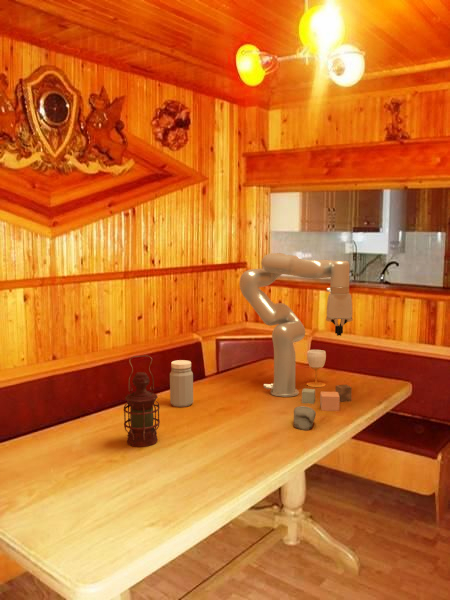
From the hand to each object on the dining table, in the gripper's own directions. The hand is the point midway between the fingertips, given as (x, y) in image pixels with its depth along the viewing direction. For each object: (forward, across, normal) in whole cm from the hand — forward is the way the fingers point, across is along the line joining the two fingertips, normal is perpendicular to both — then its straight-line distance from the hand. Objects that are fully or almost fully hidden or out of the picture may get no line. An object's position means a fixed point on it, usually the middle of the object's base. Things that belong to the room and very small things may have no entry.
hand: (338, 335), depth 232 cm
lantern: (+29, -71, -50) cm, 92 cm away
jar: (+29, -65, -6) cm, 72 cm away
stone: (+30, -15, -28) cm, 44 cm away
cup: (+29, -7, +30) cm, 43 cm away
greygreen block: (+29, -12, +2) cm, 32 cm away
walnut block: (+29, +3, +6) cm, 30 cm away
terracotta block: (+29, -4, -6) cm, 30 cm away
